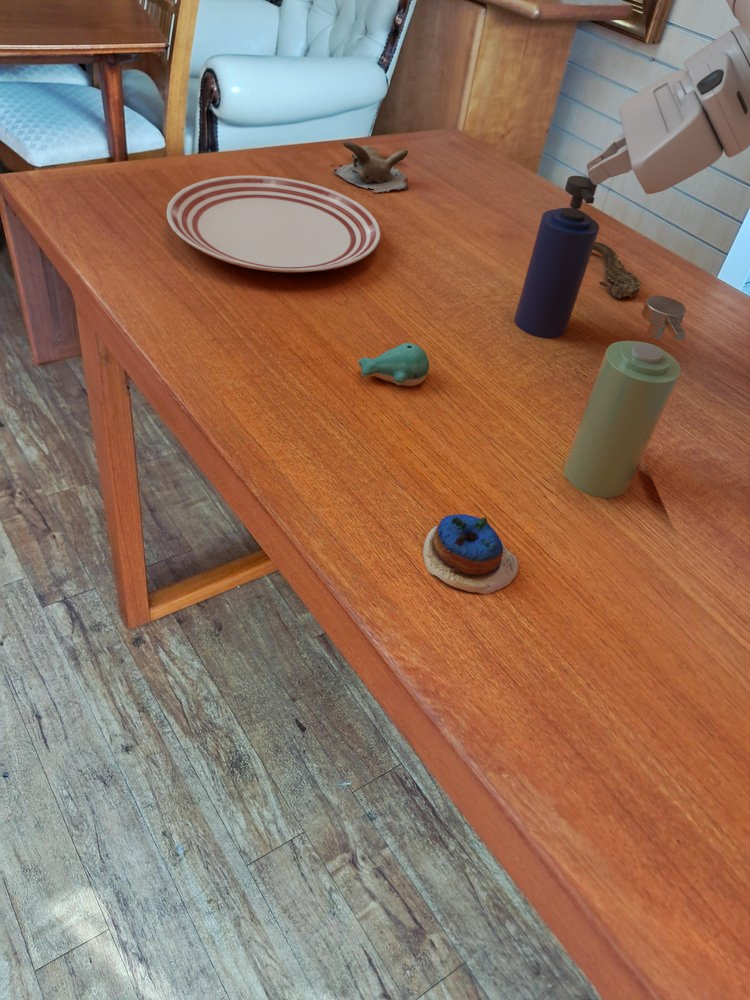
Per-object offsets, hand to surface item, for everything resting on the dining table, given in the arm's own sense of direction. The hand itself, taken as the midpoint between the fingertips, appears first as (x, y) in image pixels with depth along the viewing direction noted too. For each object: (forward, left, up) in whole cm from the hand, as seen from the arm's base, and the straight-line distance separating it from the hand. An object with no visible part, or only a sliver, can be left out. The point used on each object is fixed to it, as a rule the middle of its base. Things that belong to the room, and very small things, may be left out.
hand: (589, 174), depth 84 cm
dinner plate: (+34, -16, -18) cm, 41 cm away
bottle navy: (+1, 0, -18) cm, 18 cm away
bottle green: (+1, +28, -18) cm, 34 cm away
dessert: (+15, +40, -18) cm, 47 cm away
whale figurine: (+20, +14, -18) cm, 30 cm away
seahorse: (-11, -15, -18) cm, 26 cm away
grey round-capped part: (+1, +29, -3) cm, 30 cm away
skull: (+20, -41, -18) cm, 49 cm away
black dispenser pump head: (+1, +1, -3) cm, 4 cm away
